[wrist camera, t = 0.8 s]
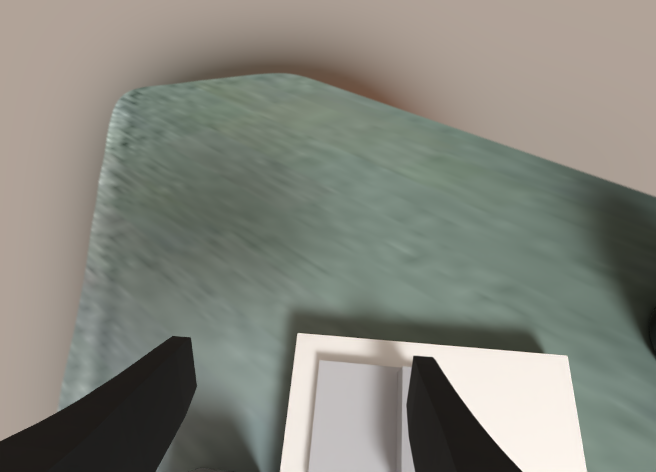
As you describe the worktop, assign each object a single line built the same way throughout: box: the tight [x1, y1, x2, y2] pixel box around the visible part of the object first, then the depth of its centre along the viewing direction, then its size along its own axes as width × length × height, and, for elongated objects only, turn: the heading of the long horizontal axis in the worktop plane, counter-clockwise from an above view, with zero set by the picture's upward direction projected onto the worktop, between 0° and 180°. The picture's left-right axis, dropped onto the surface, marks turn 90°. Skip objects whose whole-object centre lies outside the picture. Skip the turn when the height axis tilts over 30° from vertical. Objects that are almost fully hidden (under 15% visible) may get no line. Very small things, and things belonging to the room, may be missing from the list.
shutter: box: [308, 360, 415, 472], centre depth 21 cm, size 7×7×3 cm
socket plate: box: [280, 333, 587, 472], centre depth 23 cm, size 12×17×3 cm
